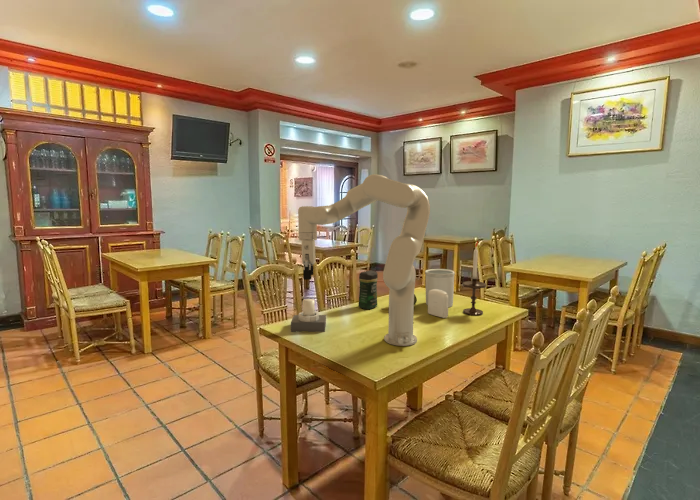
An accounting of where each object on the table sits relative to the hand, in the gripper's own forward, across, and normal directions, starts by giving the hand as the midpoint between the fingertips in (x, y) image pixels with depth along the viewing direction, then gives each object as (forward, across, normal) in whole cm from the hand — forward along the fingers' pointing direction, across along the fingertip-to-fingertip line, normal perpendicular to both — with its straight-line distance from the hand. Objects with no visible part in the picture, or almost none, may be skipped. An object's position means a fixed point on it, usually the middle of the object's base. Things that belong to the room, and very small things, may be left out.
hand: (308, 277), depth 164 cm
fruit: (+22, +30, -45) cm, 58 cm away
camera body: (+22, 0, 0) cm, 22 cm away
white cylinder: (+18, 0, 0) cm, 18 cm away
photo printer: (+22, +17, -59) cm, 65 cm away
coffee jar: (+22, +31, -27) cm, 47 cm away
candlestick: (+23, +21, -77) cm, 83 cm away
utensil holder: (+22, +36, -64) cm, 77 cm away
